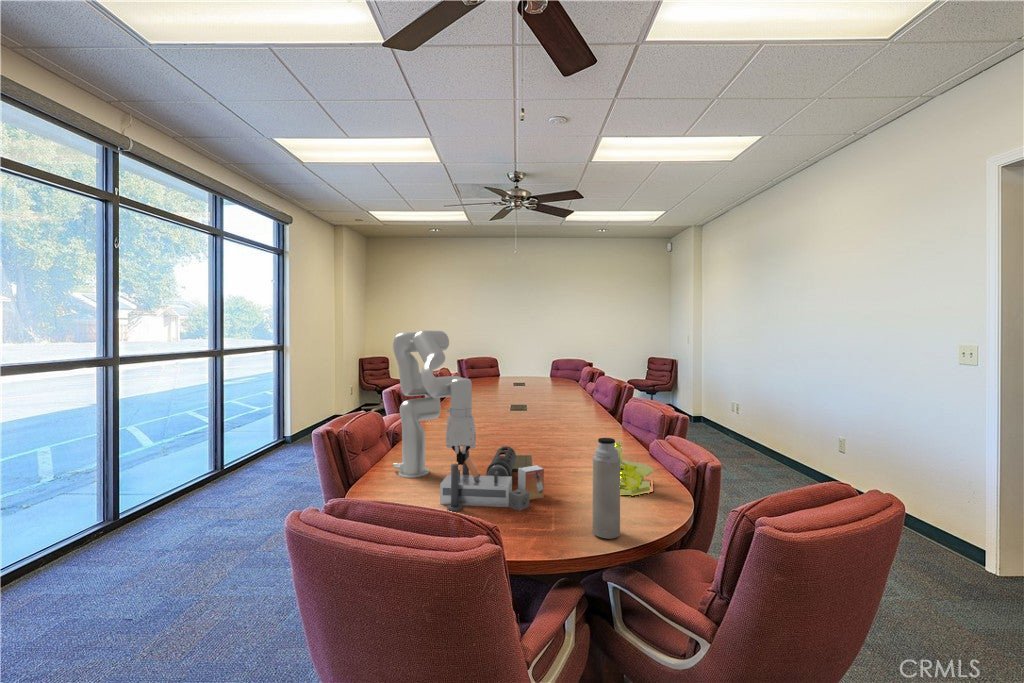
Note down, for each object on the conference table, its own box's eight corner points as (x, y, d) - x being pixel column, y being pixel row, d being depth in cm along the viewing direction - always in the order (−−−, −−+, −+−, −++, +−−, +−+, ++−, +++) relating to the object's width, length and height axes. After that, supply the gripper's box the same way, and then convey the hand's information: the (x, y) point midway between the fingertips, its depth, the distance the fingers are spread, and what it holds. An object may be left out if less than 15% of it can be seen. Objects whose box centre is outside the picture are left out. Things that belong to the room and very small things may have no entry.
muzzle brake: (516, 469, 194) (516, 445, 193) (510, 491, 166) (510, 464, 166) (495, 468, 194) (495, 445, 194) (485, 490, 167) (485, 463, 166)
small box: (525, 501, 155) (525, 471, 155) (517, 496, 160) (517, 467, 160) (544, 497, 159) (544, 468, 159) (536, 492, 164) (536, 464, 164)
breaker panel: (439, 504, 152) (439, 475, 152) (447, 493, 163) (447, 466, 163) (508, 507, 150) (508, 478, 149) (511, 495, 161) (512, 468, 161)
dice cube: (508, 507, 150) (508, 492, 150) (518, 503, 154) (518, 489, 154) (519, 511, 147) (519, 496, 147) (529, 507, 150) (529, 492, 150)
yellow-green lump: (602, 493, 163) (602, 451, 163) (607, 473, 187) (608, 437, 187) (654, 499, 158) (654, 455, 158) (653, 477, 182) (653, 440, 182)
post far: (457, 492, 164) (457, 452, 164) (460, 487, 169) (460, 449, 169) (470, 493, 163) (471, 452, 163) (473, 488, 168) (473, 449, 168)
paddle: (475, 482, 155) (463, 461, 155) (477, 478, 158) (466, 458, 159) (479, 480, 154) (467, 459, 155) (480, 476, 158) (469, 456, 159)
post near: (445, 511, 146) (445, 466, 146) (449, 505, 151) (449, 462, 151) (460, 512, 145) (460, 467, 145) (463, 506, 150) (463, 462, 150)
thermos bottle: (594, 525, 136) (595, 434, 135) (621, 528, 133) (621, 436, 133) (590, 536, 128) (590, 440, 128) (618, 540, 125) (619, 442, 125)
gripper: (437, 414, 154) (437, 466, 154) (479, 415, 152) (479, 467, 152) (443, 410, 161) (443, 460, 161) (483, 411, 160) (483, 461, 160)
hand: (461, 463), depth 157 cm, fingers closed
